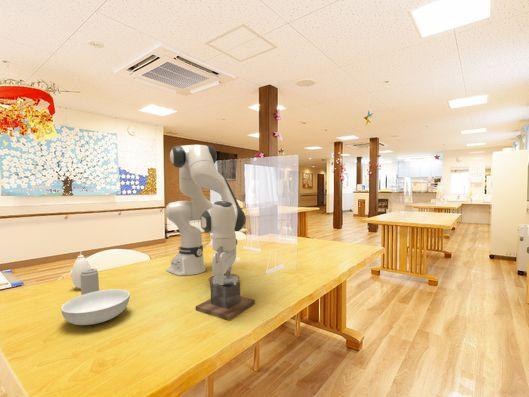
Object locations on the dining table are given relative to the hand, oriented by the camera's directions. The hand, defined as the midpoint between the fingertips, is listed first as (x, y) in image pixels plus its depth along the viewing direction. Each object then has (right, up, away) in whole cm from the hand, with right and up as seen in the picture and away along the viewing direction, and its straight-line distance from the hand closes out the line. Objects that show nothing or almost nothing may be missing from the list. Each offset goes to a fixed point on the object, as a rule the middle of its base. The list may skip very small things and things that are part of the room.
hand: (225, 280), depth 105 cm
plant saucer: (-4, -10, +27) cm, 29 cm away
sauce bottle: (-70, -11, +24) cm, 75 cm away
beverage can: (-59, -11, +12) cm, 61 cm away
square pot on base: (0, -10, 0) cm, 10 cm away
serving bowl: (-45, -12, -7) cm, 47 cm away
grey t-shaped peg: (0, -8, 0) cm, 8 cm away
